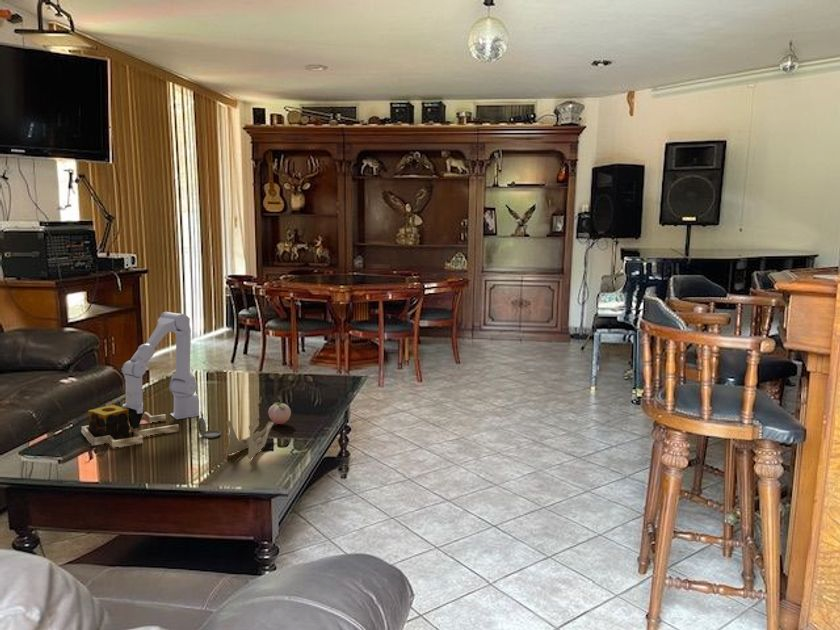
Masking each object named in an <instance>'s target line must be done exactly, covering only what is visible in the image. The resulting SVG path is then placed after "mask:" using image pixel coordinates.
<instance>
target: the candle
mask: <svg viewBox="0 0 840 630" xmlns="http://www.w3.org/2000/svg"><path fill="white" fill-rule="evenodd" d="M87 412H88V425H89V427H88V431H89V432H90V433H91V434H92V435H93V436H94V438H95V437H102V436H108V435H110V436H111V437H112V438H113V439H114V440H117V439H119V437H120V438H123V437H126V436H128V435H129V434H130V426H129V417H128V416H129V413H128V412H129V409H127V407H123V406H118V405H115V404H110V405H106V406H101V407H98V408H94V409H88V411H87Z"/></svg>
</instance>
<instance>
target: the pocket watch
mask: <svg viewBox="0 0 840 630" xmlns="http://www.w3.org/2000/svg"><path fill="white" fill-rule="evenodd" d="M199 414H200V416H201V417H199V418H198V420H197V428H198V432H199V435H200V436H201V437H203V438H206V439H207V438H209V439H213V438H214V439H215V438H218V437H220V435H221V431H220V430H207V425H206V419H204V414H203V412H202V411H199Z"/></svg>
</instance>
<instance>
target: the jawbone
mask: <svg viewBox="0 0 840 630" xmlns="http://www.w3.org/2000/svg"><path fill="white" fill-rule="evenodd" d="M274 424H275V423H274V422H273V421H272V420H270V421H267V424H266V425H265V427H264V428H263V429H262V430H261V431H258V430H257V431H256V432H255V433H254V427H253V425H252V424H249V426H248V429H249V430H250V432H251V433H250V436H248V437H245V438H241V439H239V438H238V437H237V435H236V432H235V429H234V427H233V425H232V422H231V420H228V421H226V426H228V429H229V433H226V435H227V436H228V440H229V441H228V444H227V448H226V451H225V455H226V457H227V455H229V454H232V453H235V452H237V451H241V450H243V449H245V448H247V447H249V448H247V449H248V456H247V458H248V460H249V459H251V458H252V457H254V456H256V455H255V454H256V453H258V452H259V451H260V450H261V449H262V448H263V447H264V448H265V445H266V444H267V440H268V437H269V434H270V432H271V431H270V430H271V429H272V427H273V426H274ZM264 448H263V449H264ZM263 449H262V450H263ZM262 450H261V451H262ZM235 454H236V453H235ZM258 454H259V453H258ZM254 458H255V457H254Z"/></svg>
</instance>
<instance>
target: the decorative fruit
mask: <svg viewBox="0 0 840 630" xmlns="http://www.w3.org/2000/svg"><path fill="white" fill-rule="evenodd" d="M267 414H268V416H269V418H270V421H271V422H274V424H276V425H277V424H281V425H283V424H285V423H286V422H287V421H288V420H289V419H290V417H291V415H292V410H291V408H290V407H289V406H288V405H287V404H286V403H282V402H281V401H279V402H274V403H273V404H272V405H270V407H269V409H268V411H267Z"/></svg>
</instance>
